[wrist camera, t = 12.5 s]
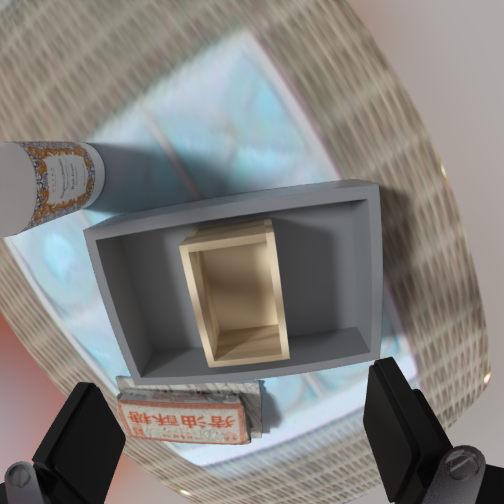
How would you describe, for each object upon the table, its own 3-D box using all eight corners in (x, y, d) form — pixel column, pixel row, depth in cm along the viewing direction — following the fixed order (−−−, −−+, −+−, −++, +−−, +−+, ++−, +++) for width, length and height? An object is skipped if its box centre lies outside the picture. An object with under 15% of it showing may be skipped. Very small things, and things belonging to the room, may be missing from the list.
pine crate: (193, 228, 29) (178, 246, 23) (270, 216, 28) (273, 232, 23) (216, 332, 32) (208, 367, 26) (284, 324, 32) (289, 358, 26)
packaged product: (127, 448, 34) (104, 395, 31) (136, 424, 39) (117, 372, 36) (262, 456, 33) (260, 403, 31) (262, 430, 38) (259, 376, 35)
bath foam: (109, 206, 29) (-44, 276, 10) (56, 210, 29) (-90, 271, 10) (106, 137, 27) (-59, 135, 8) (52, 147, 27) (-103, 162, 8)
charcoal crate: (111, 216, 30) (83, 230, 24) (355, 178, 28) (378, 184, 23) (150, 353, 34) (135, 385, 28) (362, 327, 33) (379, 358, 27)
